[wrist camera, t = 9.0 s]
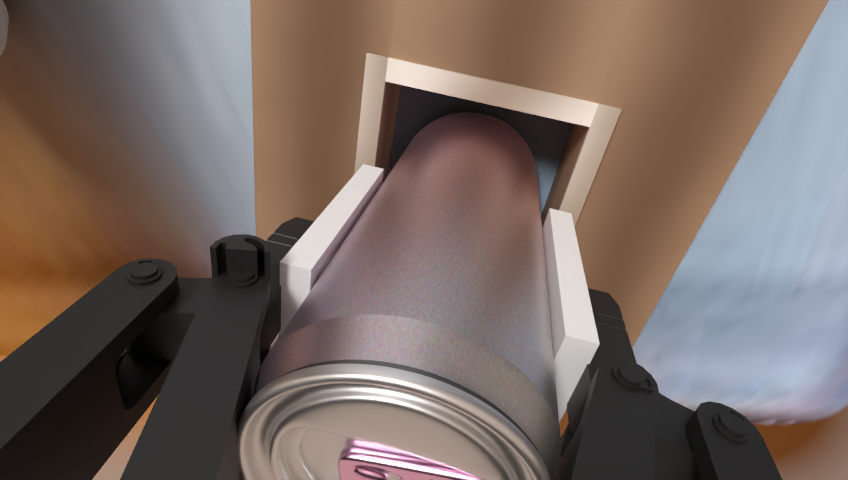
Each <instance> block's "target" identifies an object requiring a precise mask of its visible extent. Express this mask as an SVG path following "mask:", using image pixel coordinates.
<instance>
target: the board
mask: <svg viewBox="0 0 848 480" xmlns="http://www.w3.org/2000/svg"><path fill="white" fill-rule="evenodd" d="M250 1H251V44H252V88H253V131H254V175H255V218H256V236H257V237H259V238H261V239H263V240H265V241H267V239H268V238H269V236H270V235H271V234H274V231H275V230H276V229H277V228H278V227H279V226H280V225H281V224H282V223H284V222H286V221H288V220H291V219H293V218H295V217H299V218H303V219H307V220H311V221H315V220H316V219H317V218H318V217H319V216H320V214H321V213H322V212H323V211H324V210H325V208H326V207H327V206H328V205H329V204H330V203H331V201H332V200H333V199H334V198H335V197H336V196H337V194H338V193H339V192H340V191H341V190H342V189H343V187H344V186H345V185H346V184H347V183H348V181H349V180H350V179H351V178H352V177H353V176H354V174H355V173H356V172H357V171H358V170H359V169H360V167H361V166H362V165H363V164H365V165H370V166H374V167H378V168H382V169H384V172H383V180H382V184H383V182H384V181H385V179H386V178H387V176H388V175H389V169H390V162H391V155H392V149H393V142H394V135H395V128H396V121H397V114H398V107H399V100H400V93H401V86H402V85H404V86H408V87H412V88H417V89H421V90H426V91H430V92H435V93H439V94H444V95H448V96H453V97H457V98H462V99H466V100H471V101H475V102H480V103H484V104H489V105H493V106H498V107H502V108H507V109H511V110H516V111H520V112H524V113H529V114H533V115H538V116H542V117H547V118H551V119H556V120H560V121H565V122H569V123H574V124H573V127H572V130H571V132H570V135H569V138H568V141H567V144H566V147H565V150H564V152H563V155H562V158H561V161H560V164H559V167H558V170H557V172H556V175H555V178H554V181H553V184H552V187H551V190H550V192H549V195H548V198H547V201H546V204H545V207H544V210H543V212H542V215H541V222H542V228H543V225H544V222H545V220H546V217H547V214H548V211H549V208H551V209H555V210H559V211H564V212H568V213H571V214H572V218H573V223H574V228H575V232H576V237H577V241H578V246H579V251H580V255H581V260H582V264H583V269H584V274H585V278H586V283H587V288H590V289H594V290H598V291H602V292H606V293H609V294H610V295H611V296H612V298H613V299H614V300H615V301H616V302H617V304H618V305H619V307H620V310H621V313H622V317H623V321H624V323H625V327H626V331H627V333H628V337H629V340H630V343H631V346H632V347H633V345H634V343H635V342H636V340H637V338H638V336H639V335H640V333H641V331H642V329H643V328H644V326H645V324H646V322H647V320H648V319H649V317H650V315H651V313H652V312H653V310H654V308H655V306H656V305H657V303H658V301H659V299H660V298H661V296H662V294H663V292H664V290H665V289H666V287H667V285H668V283H669V282H670V280H671V278H672V276H673V275H674V273H675V271H676V269H677V267H678V266H679V264H680V262H681V260H682V259H683V257H684V255H685V253H686V252H687V250H688V248H689V246H690V245H691V243H692V241H693V239H694V237H695V236H696V234H697V232H698V230H699V229H700V227H701V225H702V223H703V222H704V220H705V218H706V216H707V215H708V213H709V211H710V209H711V207H712V206H713V204H714V202H715V200H716V199H717V197H718V195H719V193H720V192H721V190H722V188H723V186H724V184H725V183H726V181H727V179H728V177H729V176H730V174H731V172H732V170H733V169H734V167H735V165H736V163H737V162H738V160H739V158H740V156H741V154H742V153H743V151H744V149H745V147H746V146H747V144H748V142H749V140H750V139H751V137H752V135H753V133H754V132H755V130H756V128H757V126H758V124H759V123H760V121H761V119H762V117H763V116H764V114H765V112H766V110H767V109H768V107H769V105H770V103H771V101H772V100H773V98H774V96H775V94H776V93H777V91H778V89H779V87H780V86H781V84H782V82H783V80H784V79H785V77H786V75H787V73H788V71H789V70H790V68H791V66H792V64H793V63H794V61H795V59H796V57H797V56H798V54H799V52H800V50H801V48H802V47H803V45H804V43H805V41H806V40H807V38H808V36H809V34H810V33H811V31H812V29H813V27H814V26H815V24H816V22H817V20H818V18H819V17H820V15H821V13H822V11H823V10H824V8H825V6H826V4H827V3H828V1H829V0H250Z"/></svg>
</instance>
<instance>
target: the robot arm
mask: <svg viewBox="0 0 848 480" xmlns="http://www.w3.org/2000/svg"><path fill="white" fill-rule="evenodd" d="M383 172H384V169H382V168H378V167H374V166H370V165H365V164H363V165H362V166H361V167H360V169H359V170H358V171H357V172H356V173H355V174H354V176H353V177H352V178H351V179H350V180H349V181H348V183H347V184H346V185H345V186H344V187H343V189H342V190H341V191H340V192H339V193H338V194H337V196H336V197H335V198H334V199H333V200H332V201H331V203H330V204H329V205H328V206H327V207H326V208H325V210H324V211H323V212H322V213H321V214H320V216H319V217H318V218H317V219H316V220H315V221H311V220H307V219H303V218H299V217H295V218H293V219H291V220H288V221H286V222H284V223H282V224H281V225H280V226H279V227H278V228H277V229H276V230H275V231H274V234H271V235H270V236H269V238H268V239H267V241H265V240H263V239H261V238H259V237H257V236H251V235H232V236H227V237H224V238H222V239H219V240H217V241H215V242H214V244H213V245H212V246H211V247H210V253H211V265H212V278H178V276H177V268H176V267H175V266H174V265H173V264H172V263H170V262H167V261H165V260H160V259H143V260H137V261H134V262H130V263H127V264H125V265H123V266H122V267H120V268H118V269H117V270H115V271H114V272H113V273H112V274H110V275H109V276H108V277H107V278H105V279H104V280H103V281H102V282H100V283H99V284H98V285H97V286H95V287H94V288H93V289H92V290H90V291H89V292H88V293H87V294H85V295H84V296H83V297H81V298H80V299H79V300H78V301H76V302H75V303H74V304H73V305H71V306H70V307H69V308H68V309H66V310H65V311H64V312H63V313H61V314H60V315H59V316H58V317H56V318H55V319H54V320H53V321H51V322H50V323H49V324H48V325H46V326H45V327H44V328H43V329H41V330H40V331H39V332H38V333H36V334H35V335H34V336H32V337H31V338H30V339H29V340H27V341H26V342H25V343H24V344H22V345H21V346H20V347H19V348H17V349H16V350H15V351H14V352H12V353H11V354H10V355H9V356H7V357H6V358H5V359H4V360H2V361H1V362H0V480H92V479H93V478H94V476H95V475H96V473H97V472H98V471H99V470H100V469H101V467H102V466H103V465H104V463H105V462H106V461H107V460H108V458H109V457H110V456H111V455H112V453H113V452H114V451H115V449H116V448H117V447H118V446H119V444H120V443H121V442H122V441H123V439H124V438H125V437H126V435H127V434H128V433H129V432H130V430H131V429H132V428H133V426H134V425H135V424H136V423H137V421H138V420H139V419H140V418H141V416H142V415H143V414H144V412H145V411H146V410H147V409H148V407H149V406H150V405H151V403H152V402H153V401H154V400H155V398H156V397H157V396H158V395H159V396H158V397H157V400H156V402H155V404H154V406H153V408H152V411H151V413H150V415H149V417H148V419H147V422H146V424H145V426H144V428H143V431H142V433H141V435H140V437H139V439H138V441H137V444H136V446H135V448H134V450H133V452H132V455H131V457H130V459H129V461H128V464H127V466H126V468H125V470H124V473H123V475H122V477H121V479H120V480H243V478H242V476H241V473H240V459H239V444H238V422H239V419H240V417H241V415H242V413H243V411H244V410H245V408H246V406H247V405H248V403H249V402H250V401H251V399H252V396H253V391H254V386H255V381H256V378H257V374H258V371H259V369H260V367H261V364H262V363H263V361H264V359H265V358H266V356H267V355H268V353H269V352H270V350H271V343H272V342H273V340H274V339H275V337H276V336H277V334H278V333H279V337H280V335H281V334H282V332H283V331H284V329H285V328H286V326H287V325H288V323H289V322H290V320H291V319H292V318H293V316H294V315H295V313H296V312H297V310H298V309H299V307H300V306H301V304H302V303H303V301H304V300H305V298H306V297H307V295H308V294H309V292H310V291H311V289H312V288H313V286H314V285H315V283H316V282H317V280H318V279H319V277H320V276H321V274H322V273H323V271H324V270H325V268H326V267H327V266H328V264H329V263H330V261H331V260H332V258H333V257H334V255H335V254H336V252H337V251H338V249H339V248H340V246H341V245H342V243H343V242H344V240H345V239H346V237H347V236H348V234H349V233H350V231H351V230H352V228H353V227H354V225H355V224H356V222H357V221H358V219H359V218H360V217H361V215H362V214H363V212H364V211H365V209H366V208H367V206H368V205H369V203H370V202H371V200H372V199H373V197H374V196H375V194H376V193H377V191H378V190H379V188H380V187H381V185H382V180H383ZM542 234H543V245H544V256H545V268H546V279H547V291H548V302H549V313H550V325H551V336H552V348H553V359H554V370H555V382H556V393H557V404H558V416H559V422H560V421H561V418H562V417H563V415H564V413H565V411H566V409H567V411H568V420H569V424H568V426H567V428H566V429H565V431H564V433H563V435H562V437H561V455H560V461H559V466H558V469H557V472H556V475H555V478H554V480H782V478H781V476H780V474H779V472H778V469H777V467H776V465H775V463H774V461H773V459H772V457H771V454H770V452H769V450H768V448H767V446H766V444H765V442H764V439H763V437H762V436H761V434H760V433H759V431H758V430H757V428H756V427H755V426H754V425H753V424H752V423H751V422H750V421H749V420H748V419H747V418H746V417H744V416H743V415H741V414H740V413H738V412H737V411H735V410H734V409H732V408H730V407H728V406H725V405H723V404H720V403H715V402H705V403H701V404H700V406H699V407H698V408H697V410H696V411H695V412H694V411H692V410H690V409H688V408H686V407H684V406H682V405H680V404H678V403H676V402H674V401H672V400H670V399H668V398H667V397H665V396H663V395H661V394H660V393H659V391H658V386H657V383H656V381H655V380H654V378H653V377H652V375H651V374H650V373H648V372H647V371H646V370H645V369H644V368H643V367H642V366H640V365H638V364H637V363H636V360H635V356H634V353H633V350H632V346H631V343H630V340H629V337H628V333H627V331H626V327H625V323H624V321H623V317H622V313H621V310H620V307H619V305H618V304H617V302H616V301H615V300H614V299H613V298H612V296H611V295H610V294H609V293H606V292H602V291H598V290H594V289H590V288H587V283H586V278H585V274H584V269H583V264H582V260H581V255H580V251H579V246H578V241H577V237H576V232H575V228H574V223H573V218H572V214H571V213H568V212H564V211H559V210H555V209H551V208H549V211H548V214H547V217H546V220H545V222H544V225H543V228H542Z"/></svg>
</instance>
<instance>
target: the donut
mask: <svg viewBox="0 0 848 480" xmlns="http://www.w3.org/2000/svg"><path fill="white" fill-rule="evenodd" d="M8 26H9V16H8V12H7V8H6V6H5V3H4V0H0V56H1V55H2V53H3V52H4V50H5V47H6V43H7V34H8Z"/></svg>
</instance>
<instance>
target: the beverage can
mask: <svg viewBox="0 0 848 480" xmlns="http://www.w3.org/2000/svg"><path fill="white" fill-rule="evenodd" d="M238 444H239V459H240V473H241V476H242V478H243V480H554V478H555V475H556V472H557V469H558V466H559V461H560V455H561V439H560V427H559V416H558V404H557V393H556V382H555V370H554V359H553V348H552V336H551V325H550V313H549V302H548V291H547V279H546V268H545V256H544V245H543V234H542V222H541V211H540V199H539V188H538V177H537V168H536V163H535V160H534V157H533V154H532V152H531V150H530V148H529V146H528V145H527V143H526V142H525V140H524V139H523V138H522V137H521V136H520V134H519V133H518V132H517V131H515V130H514V129H513V128H512V127H511V126H509V125H508V124H506V123H504V122H503V121H501V120H499V119H497V118H494V117H492V116H488V115H485V114H480V113H471V112H464V113H455V114H450V115H447V116H444V117H441V118H439V119H436V120H434V121H433V122H431V123H429V124H428V125H426V126H425V127H424V128H423V129H421V130H420V131H419V132H418V133H417V135H416V136H415V137H414V138H413V139H412V141H411V142H410V144H409V145H408V147H407V148H406V150H405V151H404V153H403V154H402V156H401V157H400V159H399V160H398V162H397V163H396V165H395V166H394V167H393V169H392V170H391V172H390V173H389V175H388V176H387V178H386V179H385V181H384V182H383V184H382V185H381V187H380V188H379V190H378V191H377V193H376V194H375V196H374V197H373V199H372V200H371V202H370V203H369V205H368V206H367V208H366V209H365V211H364V212H363V214H362V215H361V217H360V218H359V219H358V221H357V222H356V224H355V225H354V227H353V228H352V230H351V231H350V233H349V234H348V236H347V237H346V239H345V240H344V242H343V243H342V245H341V246H340V248H339V249H338V251H337V252H336V254H335V255H334V257H333V258H332V260H331V261H330V263H329V264H328V266H327V267H326V268H325V270H324V271H323V273H322V274H321V276H320V277H319V279H318V280H317V282H316V283H315V285H314V286H313V288H312V289H311V291H310V292H309V294H308V295H307V297H306V298H305V300H304V301H303V303H302V304H301V306H300V307H299V309H298V310H297V312H296V313H295V315H294V316H293V318H292V319H291V320H290V322H289V323H288V325H287V326H286V328H285V329H284V331H283V332H282V334H281V335H280V337H279V338H278V340H277V341H276V343H275V344H274V346H273V347H272V349H271V350H270V352H269V353H268V355H267V356H266V358H265V359H264V361H263V363H262V364H261V367H260V369H259V371H258V374H257V378H256V381H255V386H254V391H253V396H252V399H251V401H250V402H249V403H248V405H247V406H246V408H245V410H244V411H243V413H242V415H241V417H240V419H239V422H238Z"/></svg>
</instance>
